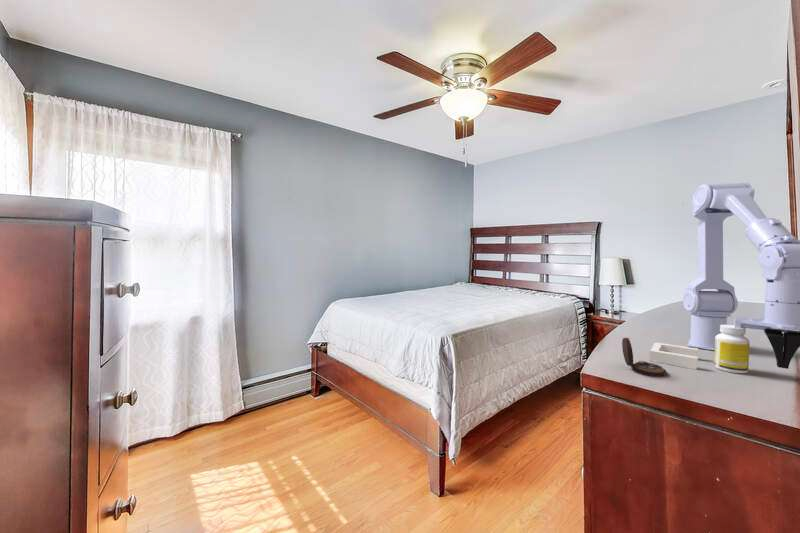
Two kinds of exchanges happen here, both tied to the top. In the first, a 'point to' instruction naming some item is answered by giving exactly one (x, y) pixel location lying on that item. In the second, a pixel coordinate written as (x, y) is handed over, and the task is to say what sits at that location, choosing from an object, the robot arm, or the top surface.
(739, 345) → the supplement bottle
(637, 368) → the compass
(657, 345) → the can dock
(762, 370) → the top surface
